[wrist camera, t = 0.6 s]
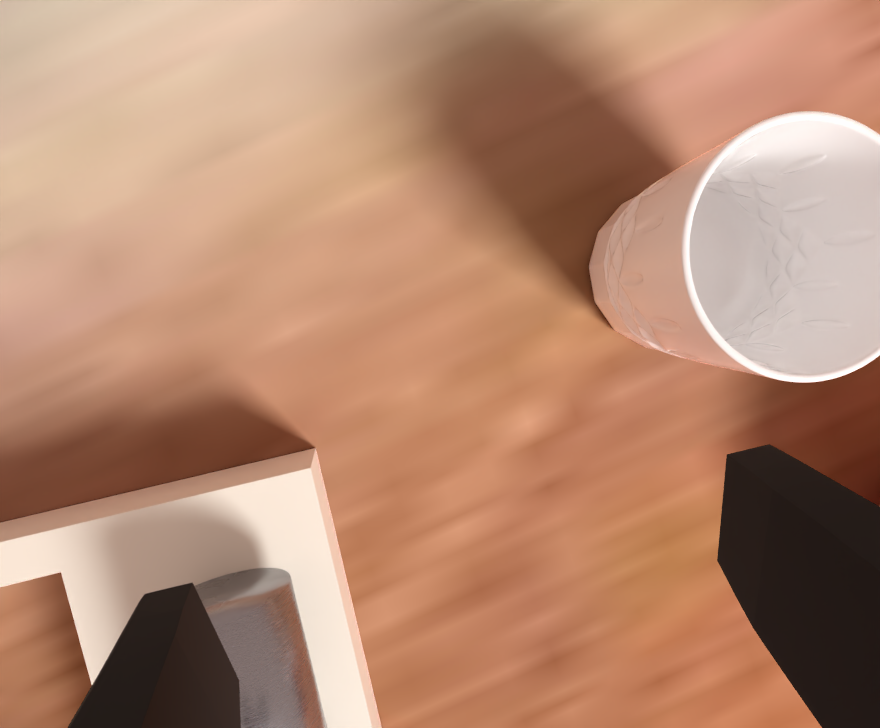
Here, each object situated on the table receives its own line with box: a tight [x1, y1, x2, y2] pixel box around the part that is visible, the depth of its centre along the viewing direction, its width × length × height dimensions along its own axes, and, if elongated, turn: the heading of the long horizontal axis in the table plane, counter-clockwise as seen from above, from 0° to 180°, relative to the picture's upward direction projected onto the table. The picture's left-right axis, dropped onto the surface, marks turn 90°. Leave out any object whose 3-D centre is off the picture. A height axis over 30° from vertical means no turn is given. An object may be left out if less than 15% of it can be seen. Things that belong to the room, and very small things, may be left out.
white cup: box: [589, 111, 880, 383], centre depth 26 cm, size 8×8×10 cm
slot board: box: [0, 448, 382, 728], centre depth 27 cm, size 16×18×4 cm
